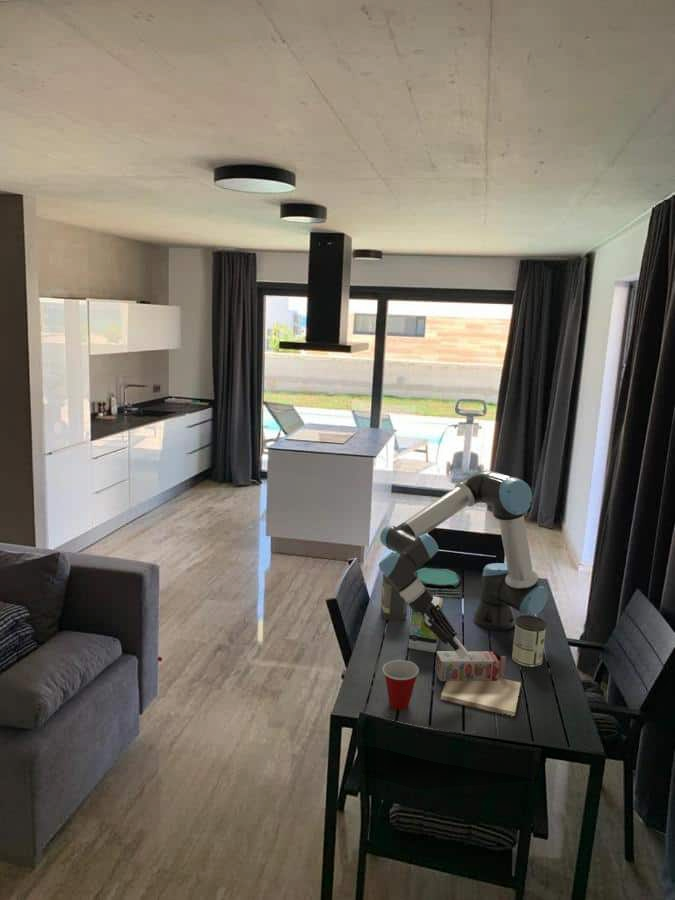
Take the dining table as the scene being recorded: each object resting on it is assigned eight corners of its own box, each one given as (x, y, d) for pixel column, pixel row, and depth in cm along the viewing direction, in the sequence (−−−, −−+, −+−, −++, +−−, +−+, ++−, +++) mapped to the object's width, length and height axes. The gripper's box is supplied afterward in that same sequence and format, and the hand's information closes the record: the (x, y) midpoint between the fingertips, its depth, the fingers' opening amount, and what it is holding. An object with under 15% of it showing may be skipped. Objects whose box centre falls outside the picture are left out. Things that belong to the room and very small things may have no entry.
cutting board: (440, 699, 204) (441, 694, 204) (451, 671, 221) (452, 667, 220) (514, 716, 197) (515, 712, 196) (520, 686, 213) (520, 682, 213)
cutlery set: (456, 573, 309) (457, 568, 309) (466, 600, 280) (466, 595, 279) (413, 570, 310) (413, 566, 309) (418, 598, 280) (418, 593, 280)
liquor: (402, 610, 265) (407, 538, 260) (407, 620, 257) (413, 546, 251) (379, 610, 264) (384, 538, 258) (384, 621, 255) (389, 546, 249)
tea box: (436, 653, 232) (440, 613, 230) (407, 648, 235) (410, 609, 232) (440, 634, 247) (443, 596, 244) (413, 630, 249) (416, 592, 246)
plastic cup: (377, 694, 205) (379, 658, 202) (412, 694, 206) (415, 658, 203) (382, 715, 194) (385, 677, 192) (419, 715, 195) (422, 677, 193)
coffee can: (512, 650, 238) (516, 612, 235) (542, 655, 234) (547, 618, 232) (510, 663, 228) (514, 624, 225) (541, 669, 225) (546, 630, 222)
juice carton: (436, 651, 217) (502, 651, 219) (434, 670, 218) (500, 670, 220) (441, 661, 210) (509, 661, 212) (439, 681, 211) (507, 680, 214)
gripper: (412, 594, 218) (459, 652, 216) (402, 610, 206) (451, 671, 204) (430, 582, 215) (477, 641, 213) (420, 597, 203) (470, 659, 201)
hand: (464, 656), depth 209 cm, fingers closed
